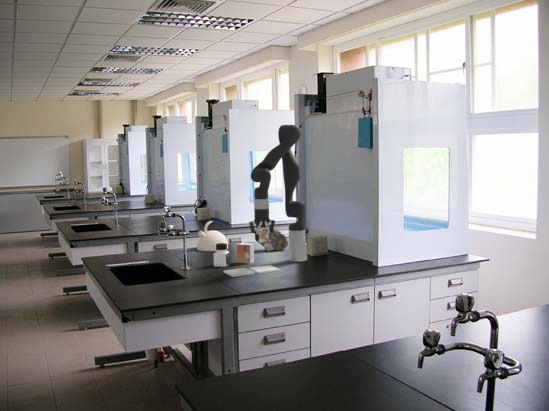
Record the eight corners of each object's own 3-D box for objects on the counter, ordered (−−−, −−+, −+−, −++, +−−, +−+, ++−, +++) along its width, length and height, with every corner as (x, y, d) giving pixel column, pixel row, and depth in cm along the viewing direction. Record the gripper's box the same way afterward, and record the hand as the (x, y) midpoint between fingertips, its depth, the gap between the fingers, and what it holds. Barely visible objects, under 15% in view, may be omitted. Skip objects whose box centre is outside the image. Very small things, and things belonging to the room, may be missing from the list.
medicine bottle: (226, 266, 296) (225, 244, 295) (213, 266, 298) (213, 244, 297) (230, 264, 303) (229, 242, 302) (217, 263, 305) (217, 242, 304)
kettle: (189, 249, 356) (189, 221, 354) (216, 245, 370) (215, 218, 368) (208, 252, 341) (207, 223, 339) (235, 248, 355) (234, 220, 353)
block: (264, 240, 288) (264, 231, 287) (268, 241, 283) (268, 232, 283) (256, 241, 285) (255, 231, 285) (259, 242, 281) (259, 232, 281)
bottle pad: (245, 269, 287) (245, 268, 287) (254, 274, 276) (254, 272, 276) (223, 272, 282) (223, 270, 282) (232, 276, 271) (232, 274, 271)
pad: (269, 267, 293) (269, 265, 293) (279, 271, 282) (279, 269, 282) (248, 269, 288) (248, 267, 288) (258, 273, 277) (258, 271, 277)
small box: (237, 263, 305) (236, 244, 305) (241, 261, 311) (240, 242, 310) (250, 264, 302) (249, 244, 302) (254, 262, 308) (254, 243, 307)
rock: (270, 224, 334) (267, 217, 348) (254, 242, 335) (251, 234, 350) (292, 243, 339) (288, 235, 353) (276, 260, 341) (273, 252, 355)
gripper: (271, 206, 289) (272, 238, 291) (245, 208, 283) (246, 241, 285) (277, 207, 282) (278, 240, 284) (251, 209, 276) (252, 243, 278)
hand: (262, 240), depth 284 cm, fingers closed on block, 5 cm apart
